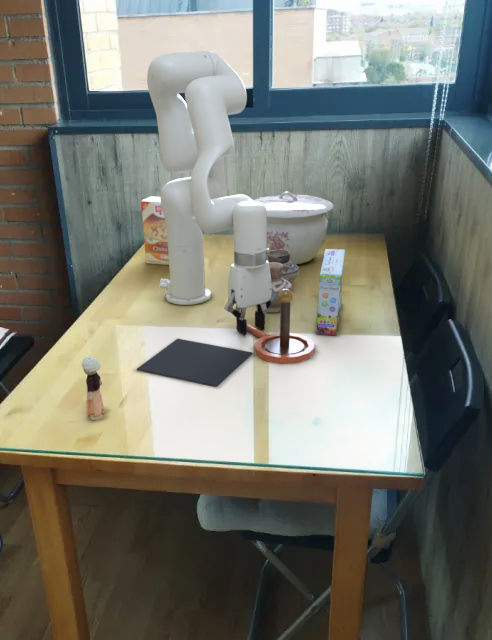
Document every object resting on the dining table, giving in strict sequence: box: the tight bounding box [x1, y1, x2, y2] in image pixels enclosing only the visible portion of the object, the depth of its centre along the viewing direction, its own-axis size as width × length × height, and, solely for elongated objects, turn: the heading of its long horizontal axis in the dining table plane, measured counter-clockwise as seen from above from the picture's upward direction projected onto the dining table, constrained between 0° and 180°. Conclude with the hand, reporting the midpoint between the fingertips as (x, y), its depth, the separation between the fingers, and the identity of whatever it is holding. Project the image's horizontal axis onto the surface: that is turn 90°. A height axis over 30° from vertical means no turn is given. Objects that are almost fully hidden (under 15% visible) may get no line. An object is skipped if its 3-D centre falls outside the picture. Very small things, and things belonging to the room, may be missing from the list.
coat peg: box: [264, 289, 305, 355], centre depth 156 cm, size 9×9×15 cm
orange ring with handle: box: [247, 323, 316, 365], centre depth 163 cm, size 24×14×2 cm, turn 32°
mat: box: [136, 338, 253, 388], centre depth 156 cm, size 20×18×1 cm
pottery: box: [267, 250, 300, 314], centre depth 185 cm, size 11×25×12 cm, turn 170°
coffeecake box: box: [140, 195, 196, 266], centre depth 215 cm, size 15×7×20 cm, turn 67°
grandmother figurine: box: [81, 355, 106, 421], centre depth 134 cm, size 8×4×13 cm, turn 5°
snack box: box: [315, 248, 346, 336], centre depth 171 cm, size 21×6×15 cm, turn 168°
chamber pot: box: [252, 191, 335, 266], centre depth 213 cm, size 28×28×21 cm
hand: (250, 330), depth 169 cm, fingers open, 4 cm apart
